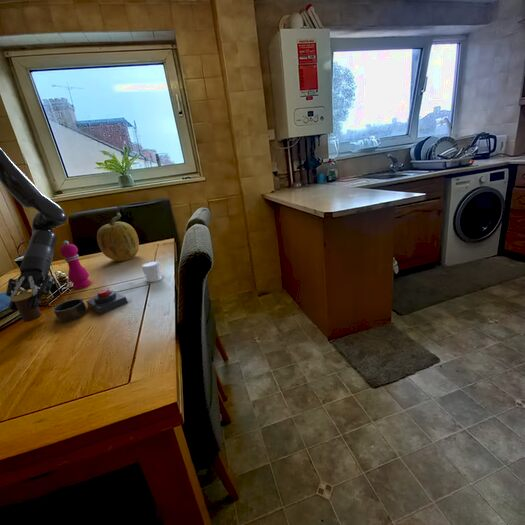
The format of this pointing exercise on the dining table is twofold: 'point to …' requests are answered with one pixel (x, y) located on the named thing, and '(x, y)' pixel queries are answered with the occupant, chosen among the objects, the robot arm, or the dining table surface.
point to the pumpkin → (118, 240)
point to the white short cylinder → (152, 271)
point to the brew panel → (106, 302)
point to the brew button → (103, 293)
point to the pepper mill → (74, 266)
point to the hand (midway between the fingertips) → (22, 308)
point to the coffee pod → (26, 307)
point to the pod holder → (70, 310)
